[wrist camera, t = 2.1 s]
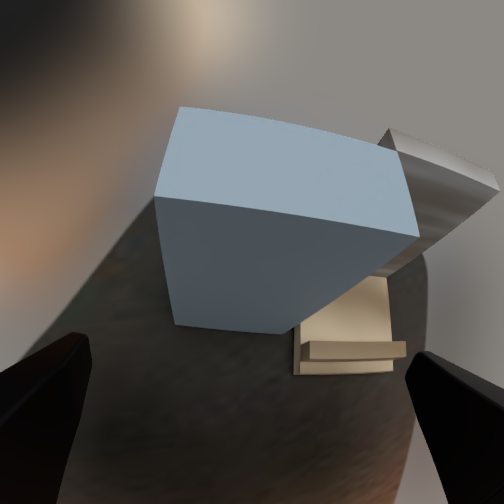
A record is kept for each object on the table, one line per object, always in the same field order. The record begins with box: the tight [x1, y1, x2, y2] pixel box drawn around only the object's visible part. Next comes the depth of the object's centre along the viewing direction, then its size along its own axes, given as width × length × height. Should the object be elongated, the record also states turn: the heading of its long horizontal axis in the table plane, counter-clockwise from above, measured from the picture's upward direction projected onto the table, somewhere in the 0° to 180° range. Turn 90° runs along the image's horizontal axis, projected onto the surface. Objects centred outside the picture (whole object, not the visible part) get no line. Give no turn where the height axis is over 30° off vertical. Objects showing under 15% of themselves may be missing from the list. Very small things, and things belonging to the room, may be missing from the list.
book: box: [154, 107, 420, 334], centre depth 13 cm, size 3×6×13 cm, turn 88°
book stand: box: [294, 128, 500, 375], centre depth 15 cm, size 9×6×12 cm
